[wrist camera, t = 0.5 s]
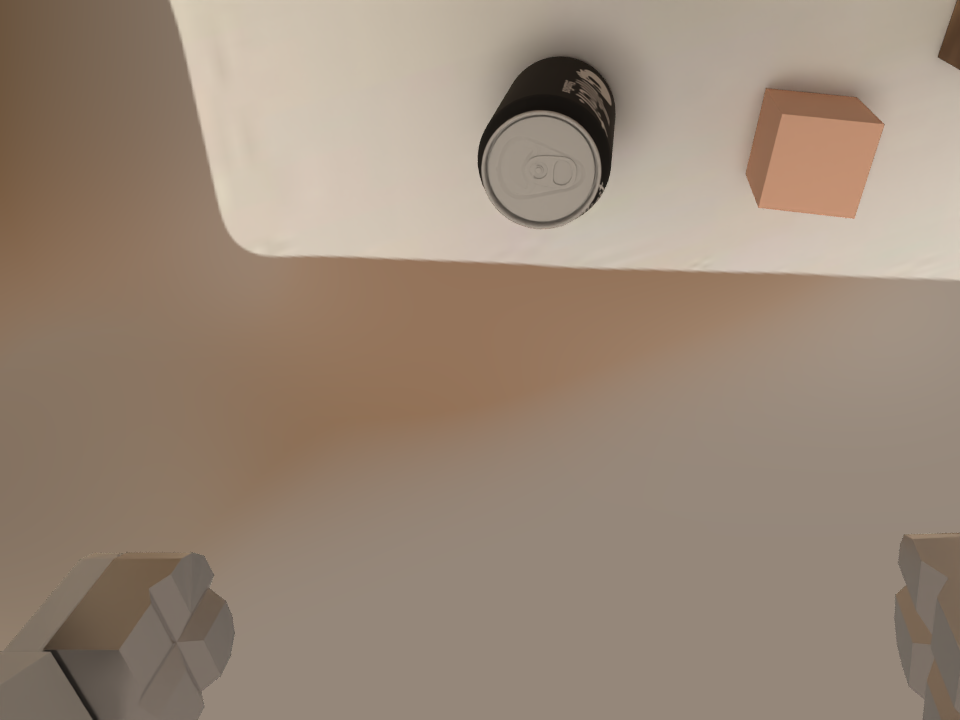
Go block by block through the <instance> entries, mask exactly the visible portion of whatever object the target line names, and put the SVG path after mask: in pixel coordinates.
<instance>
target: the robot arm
mask: <svg viewBox="0 0 960 720" xmlns="http://www.w3.org/2000/svg"><path fill="white" fill-rule="evenodd" d="M898 564H899V567H900V569H901V572H902V575H903V578H904V580H905V583H906V586H904V587H903V588H902V589H901V590H900V591H899V592H898V593H897V594H896V595H895V616H894V617H895V618H894V619H895V630H896V640H897V647H898V651H899V655H900V659H901V664H902V667H903V670H904V673H905V676H906V679H907V682H908V685H909V687H910V688H911V689H913V690H914V691H915V692H916V693H917V694H919V695H920V696H921V697H922V698H924V699H925V701H924V712H923V720H960V533H934V534H933V533H932V534H904V535H903V538H902V541H901V543H900V549H899V559H898ZM213 577H214V574H213V572H212V570H211V568H210V566H209V564H208V562H207V560H206V558H205V556H203V555H200V554H196V553H193V552H126V553H93V554H90V555H88V556H86V557H84V558H82V559H80V560H79V561H78V562H77V564H76V565H75V566H74V567H73V568H72V570H71V571H70V572H69V573H68V575H67V576H66V577H65V578H64V579H63V580H62V581H61V583H60V584H59V585H58V586H57V588H56V589H55V590H54V591H53V592H52V593H51V595H50V596H49V597H48V598H47V599H46V601H45V602H44V603H43V604H42V605H41V607H40V608H39V609H38V610H37V611H36V612H35V614H34V615H33V616H32V617H31V619H30V620H29V621H28V622H27V623H26V625H25V626H24V627H23V628H22V629H21V631H20V632H19V633H18V634H17V635H16V636H15V638H14V639H13V640H12V641H11V642H10V643H9V645H8V646H7V647H6V648H5V650H4V651H0V720H198V718H199V716H200V714H201V713H202V710H203V709H204V702H203V697H202V690H204V689H205V688H206V687H208V686H209V685H210V684H211V683H213V682H214V681H215V680H217V679H218V678H219V677H220V676H221V674H222V673H223V671H224V669H225V666H226V665H227V663H228V660H229V658H230V656H231V651H232V645H233V640H234V634H235V632H234V625H233V617H232V614H231V612H230V609H229V607H228V604H227V602H226V601H225V600H224V599H223V598H222V597H220V596H219V595H218V594H216V593H215V592H214V591H212V590H211V589H210V588H209V587H210V585H211V582H212V580H213Z"/></svg>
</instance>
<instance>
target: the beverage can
mask: <svg viewBox="0 0 960 720" xmlns="http://www.w3.org/2000/svg"><path fill="white" fill-rule="evenodd" d="M614 125H615V103H614V99H613V95H612V92H611V90H610V88H609V86H608V84H607V82H606V81H605V79H604V78H603V77H602V76H601V75H600V74H599V73H598V72H597V71H596V70H595V69H594V68H593V67H591V66H590V65H588V64H586V63H584V62H582V61H580V60H577V59H573V58H568V57H552V58H547V59H544V60H541V61H538V62H536V63H534V64H532V65H531V66H529V67H528V68H526V69H525V70H524V71H523V72H522V73H521V74H520V75H519V76H518V77H517V78H516V80H515V81H514V82H513V84H512V86H511V87H510V89H509V91H508V92H507V94H506V96H505V97H504V99H503V100H502V102H501V104H500V105H499V107H498V109H497V110H496V112H495V114H494V115H493V117H492V119H491V120H490V122H489V124H488V125H487V127H486V129H485V131H484V133H483V135H482V138H481V141H480V145H479V150H478V169H479V174H480V178H481V181H482V184H483V186H484V188H485V191H486V193H487V195H488V197H489V199H490V201H491V202H492V204H493V205H494V206H495V208H496V209H497V210H498V211H499V212H500V213H501V214H502V215H504V216H505V217H506V218H508V219H509V220H511V221H513V222H515V223H517V224H519V225H522V226H525V227H528V228H534V229H550V228H555V227H559V226H562V225H565V224H567V223H569V222H571V221H573V220H574V219H576V218H578V217H580V216H581V215H583V214H584V213H585V212H587V211H588V210H589V209H590V208H591V207H592V206H593V205H594V204H595V203H596V202H597V201H598V199H599V198H600V196H601V195H602V193H603V191H604V189H605V187H606V185H607V182H608V179H609V176H610V170H611V161H612V149H613V137H614Z"/></svg>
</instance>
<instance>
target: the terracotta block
mask: <svg viewBox="0 0 960 720" xmlns="http://www.w3.org/2000/svg"><path fill="white" fill-rule="evenodd" d="M883 127H884V123H883V122H882V121H881V120H879V119H878V118H877V117H876V116H875V115H874V114H873V113H872V112H871V111H870V110H869V109H868V108H867V107H866V106H865V105H864V104H863V103H862V102H861V101H860V100H859V99H858V98H857V97H848V96H838V95H828V94H818V93H808V92H798V91H788V90H778V89H768V88H766V90H765V95H764V99H763V103H762V107H761V111H760V116H759V120H758V124H757V128H756V132H755V136H754V141H753V145H752V149H751V153H750V157H749V161H748V166H747V170H746V176H747V179H748V181H749V184H750V187H751V189H752V192H753V195H754V197H755V200H756V203H757V205H758V208H766V209H775V210H784V211H792V212H801V213H810V214H818V215H827V216H836V217H845V218H853V219H854V218H855V215H856V212H857V209H858V205H859V202H860V199H861V196H862V193H863V190H864V187H865V184H866V180H867V177H868V174H869V171H870V168H871V165H872V162H873V159H874V156H875V152H876V149H877V146H878V143H879V140H880V137H881V134H882V131H883Z"/></svg>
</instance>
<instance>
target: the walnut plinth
mask: <svg viewBox="0 0 960 720" xmlns="http://www.w3.org/2000/svg"><path fill="white" fill-rule="evenodd" d="M938 57H939V58H940V59H942V60H944V61H946V62H947V63H949V64H951V65H952V66H954V67H956V68H958V69H959V70H960V0H957V2H956V5H955V8H954V11H953V14H952V17H951V20H950V23H949V26H948V29H947V32H946V35H945V38H944V41H943V43H942V46H941V49H940V52H939V55H938Z"/></svg>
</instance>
